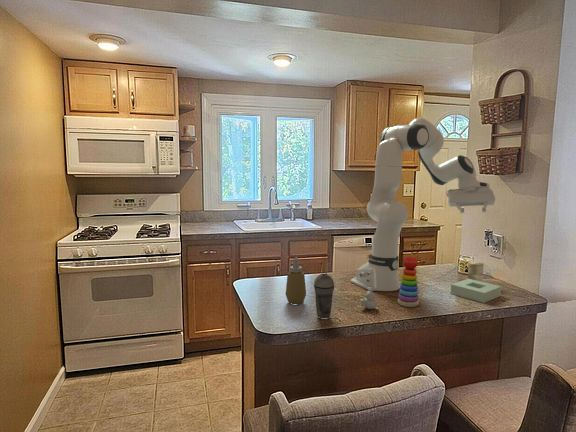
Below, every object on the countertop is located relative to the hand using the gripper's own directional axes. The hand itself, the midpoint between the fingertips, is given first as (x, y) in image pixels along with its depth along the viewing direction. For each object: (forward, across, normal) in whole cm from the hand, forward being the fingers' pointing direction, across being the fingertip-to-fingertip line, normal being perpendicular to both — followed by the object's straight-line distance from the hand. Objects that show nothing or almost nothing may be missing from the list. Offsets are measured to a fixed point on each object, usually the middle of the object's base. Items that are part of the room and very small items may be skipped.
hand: (473, 212), depth 182 cm
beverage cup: (+63, -62, -30) cm, 94 cm away
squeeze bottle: (+55, -75, -22) cm, 95 cm away
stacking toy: (+51, -33, -12) cm, 62 cm away
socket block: (+40, -5, +3) cm, 40 cm away
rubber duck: (+56, -47, -20) cm, 76 cm away
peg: (+31, -2, +14) cm, 34 cm away
